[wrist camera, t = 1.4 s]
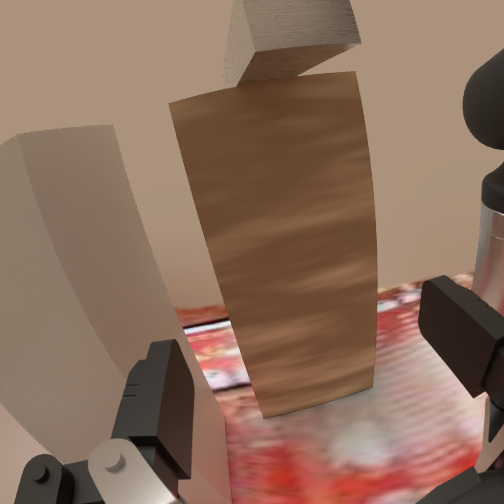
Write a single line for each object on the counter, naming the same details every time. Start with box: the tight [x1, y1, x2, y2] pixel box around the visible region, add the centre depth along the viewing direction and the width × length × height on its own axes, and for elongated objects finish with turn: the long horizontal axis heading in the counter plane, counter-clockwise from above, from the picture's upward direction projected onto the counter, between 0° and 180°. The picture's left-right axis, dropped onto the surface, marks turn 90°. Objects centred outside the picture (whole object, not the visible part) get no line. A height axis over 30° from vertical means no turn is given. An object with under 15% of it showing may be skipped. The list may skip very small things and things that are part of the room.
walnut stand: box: [169, 71, 378, 418], centre depth 30 cm, size 13×13×32 cm
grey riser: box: [0, 125, 232, 504], centre depth 20 cm, size 12×12×32 cm
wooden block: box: [222, 0, 361, 89], centre depth 18 cm, size 23×4×3 cm, turn 6°
